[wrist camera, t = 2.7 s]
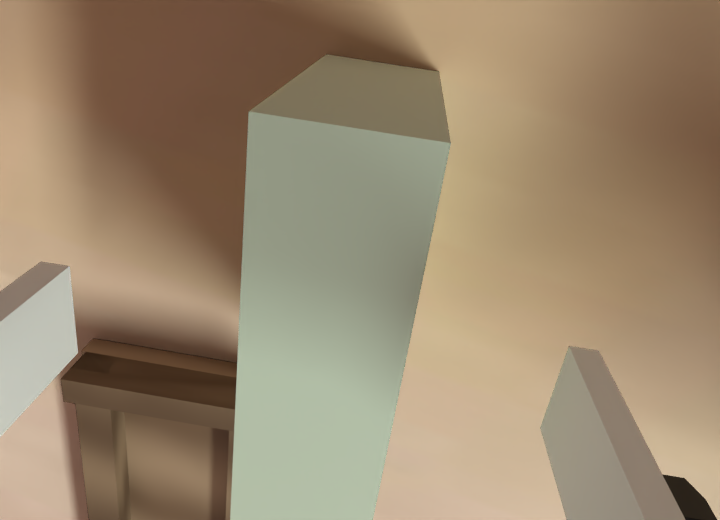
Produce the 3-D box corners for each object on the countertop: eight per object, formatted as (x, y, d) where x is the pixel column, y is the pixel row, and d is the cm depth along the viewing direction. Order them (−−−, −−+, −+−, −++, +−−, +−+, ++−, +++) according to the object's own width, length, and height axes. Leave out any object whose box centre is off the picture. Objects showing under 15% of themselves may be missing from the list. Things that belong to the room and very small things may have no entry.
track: (93, 338, 27) (55, 378, 24) (283, 371, 26) (267, 415, 24) (115, 584, 35) (89, 635, 32) (261, 611, 34) (247, 665, 32)
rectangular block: (326, 54, 20) (248, 111, 11) (439, 71, 20) (450, 142, 11) (298, 335, 26) (229, 526, 17) (386, 350, 25) (366, 551, 16)
